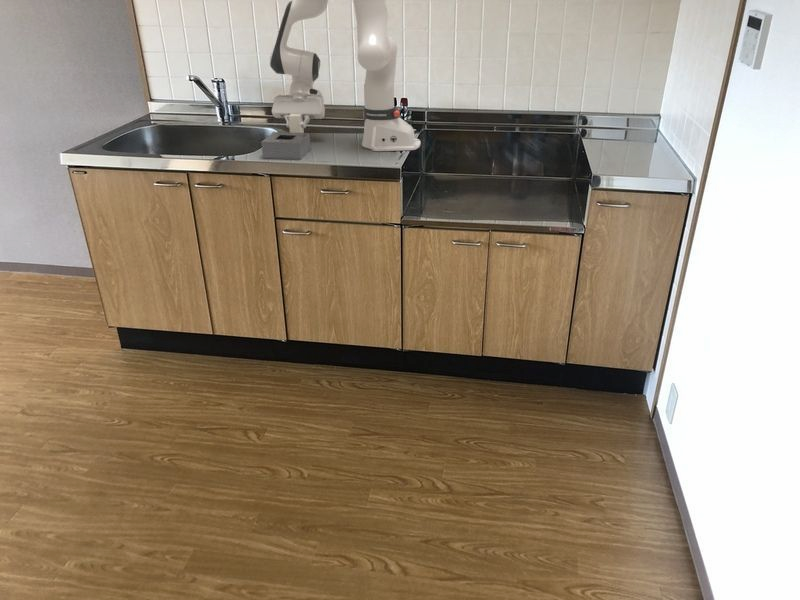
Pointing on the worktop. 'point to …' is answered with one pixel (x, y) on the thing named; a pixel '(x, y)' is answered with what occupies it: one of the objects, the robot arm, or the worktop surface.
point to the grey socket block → (286, 145)
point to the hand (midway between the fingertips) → (295, 126)
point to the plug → (295, 123)
